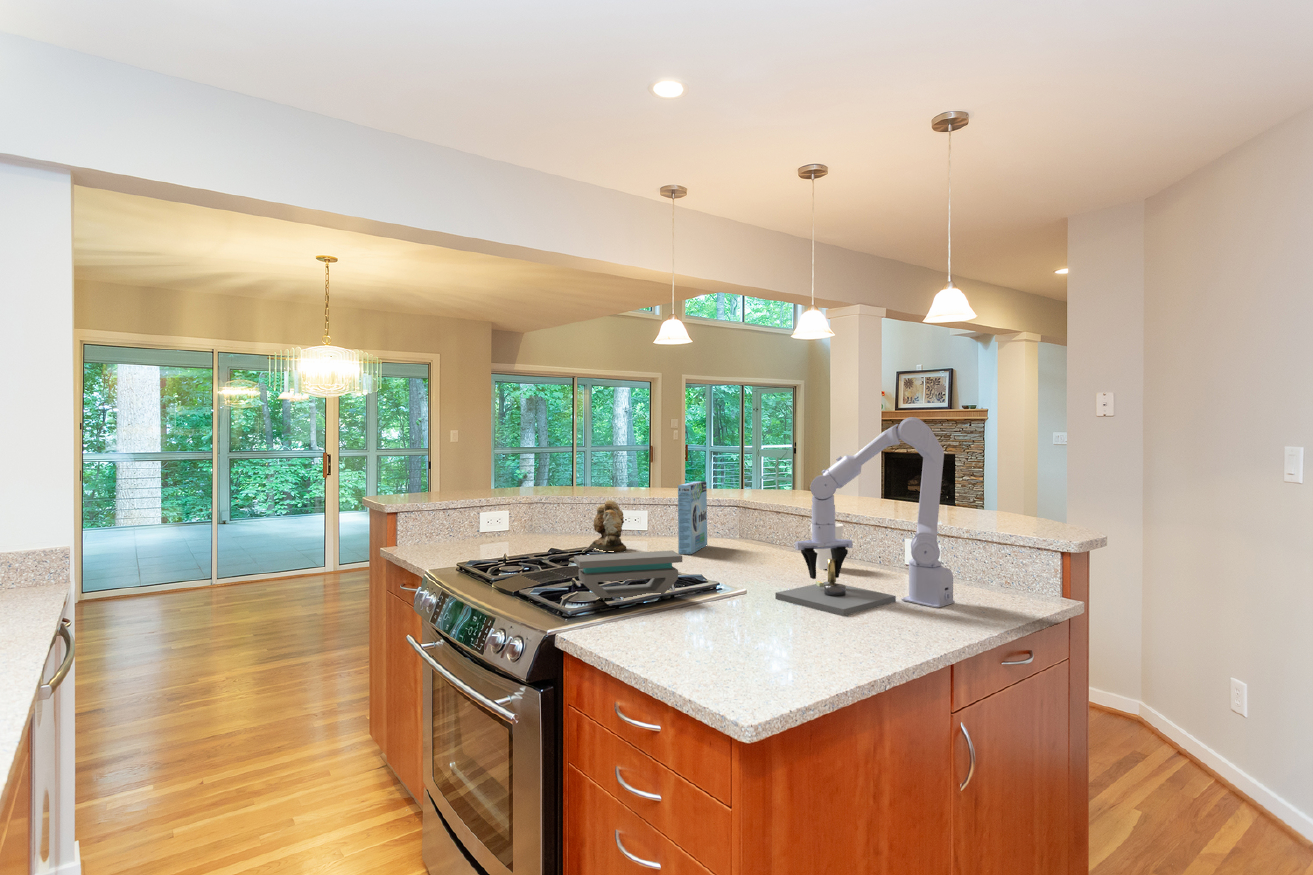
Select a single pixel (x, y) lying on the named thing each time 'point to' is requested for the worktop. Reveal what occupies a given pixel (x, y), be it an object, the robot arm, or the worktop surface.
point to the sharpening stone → (628, 572)
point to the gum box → (692, 517)
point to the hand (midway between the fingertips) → (824, 577)
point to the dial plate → (835, 599)
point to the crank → (833, 581)
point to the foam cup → (826, 553)
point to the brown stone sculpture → (609, 527)
